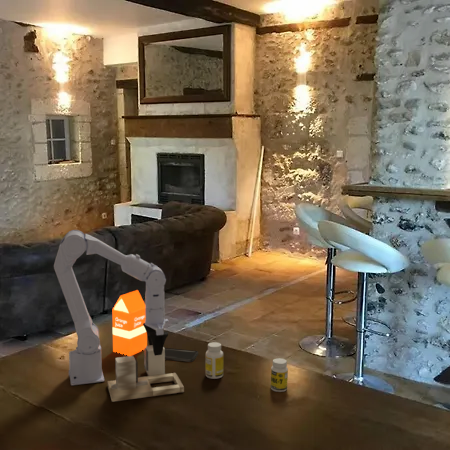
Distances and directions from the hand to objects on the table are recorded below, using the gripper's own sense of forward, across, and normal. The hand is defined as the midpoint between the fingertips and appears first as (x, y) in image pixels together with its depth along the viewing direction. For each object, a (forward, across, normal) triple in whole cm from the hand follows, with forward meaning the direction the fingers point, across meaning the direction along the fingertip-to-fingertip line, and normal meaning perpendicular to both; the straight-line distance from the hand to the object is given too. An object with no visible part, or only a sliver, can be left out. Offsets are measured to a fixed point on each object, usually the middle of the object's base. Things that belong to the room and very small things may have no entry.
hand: (155, 350), depth 165 cm
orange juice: (+7, +20, +5) cm, 22 cm away
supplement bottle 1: (+7, -8, -16) cm, 19 cm away
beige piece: (+7, -10, +5) cm, 14 cm away
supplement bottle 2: (+7, -22, -31) cm, 39 cm away
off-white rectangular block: (+7, 0, 0) cm, 7 cm away
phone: (+8, +12, -8) cm, 16 cm away
